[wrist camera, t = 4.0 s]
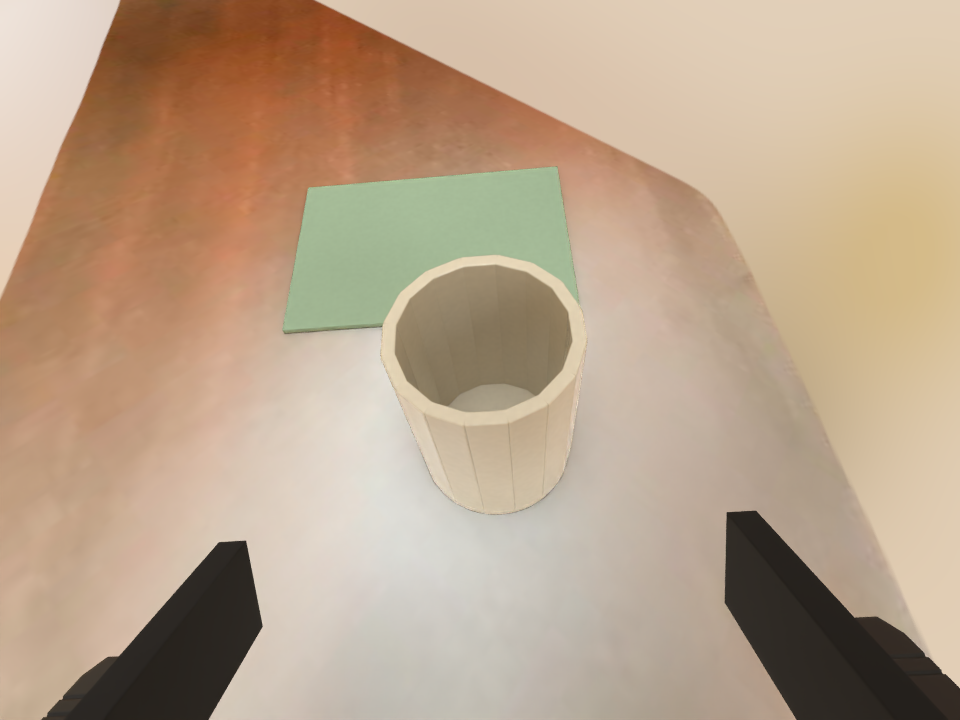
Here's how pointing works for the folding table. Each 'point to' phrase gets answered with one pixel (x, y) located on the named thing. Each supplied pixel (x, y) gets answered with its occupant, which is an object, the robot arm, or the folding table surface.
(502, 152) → the folding table surface
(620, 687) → the folding table surface
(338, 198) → the place mat
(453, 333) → the cup
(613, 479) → the folding table surface
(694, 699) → the folding table surface
